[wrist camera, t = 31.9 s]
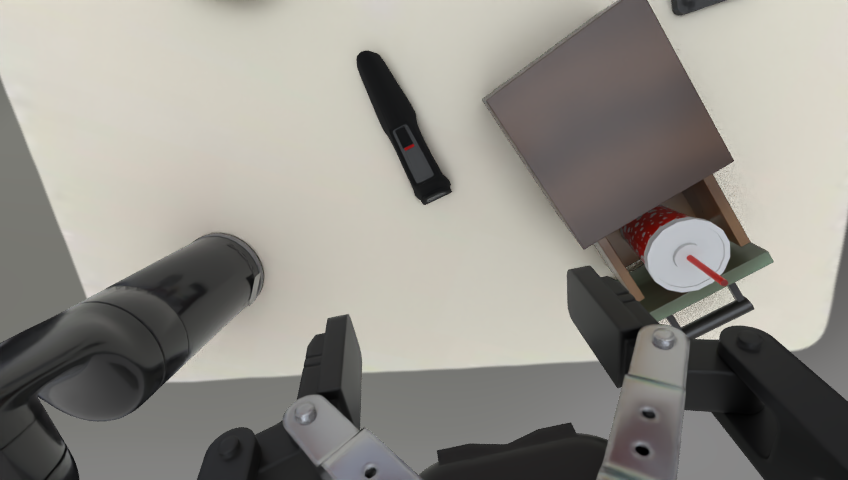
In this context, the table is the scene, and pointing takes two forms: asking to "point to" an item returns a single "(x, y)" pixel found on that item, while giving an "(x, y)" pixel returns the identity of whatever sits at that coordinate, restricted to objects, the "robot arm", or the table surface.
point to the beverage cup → (679, 249)
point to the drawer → (663, 303)
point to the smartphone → (691, 5)
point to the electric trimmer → (402, 128)
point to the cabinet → (609, 122)
